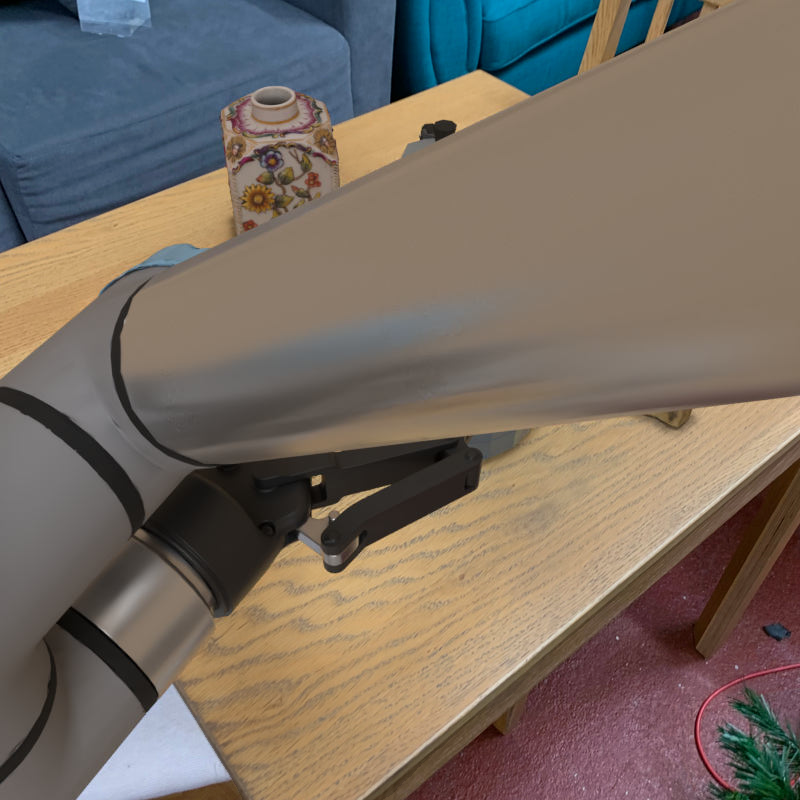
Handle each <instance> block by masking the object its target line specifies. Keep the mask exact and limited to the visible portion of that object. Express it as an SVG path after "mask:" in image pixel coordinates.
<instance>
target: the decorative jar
mask: <svg viewBox="0 0 800 800" xmlns="http://www.w3.org/2000/svg"><path fill="white" fill-rule="evenodd" d="M218 119H219V122H220V128H219V129H220V132H221V141H222V148H223V151H224V161H225V164H224V165H225V168H226V170H227V176H228V177H227V180H228V182H227V184H228V187H229V188H228V189H229V194H230V202H231V204H232V214H233V220H234V228H235V233H236V236H238V235H240V234H242V233H244V232H246V231H248V230H250V229H252V228H255V227H257V226H259V225H261V224H263V223H265V222H267V221H269V220H271V219H274V218H276V217H278V216H280V215H282V214H284V213H286V212H288V211H291V210H293V209H295V208H297V207H299V206H301V205H303V204H305V203H307V202H310V201H312V200H314V199H316V198H318V197H320V196H322V195H324V194H326V193H329V192H331V191H333V190H335V189H337V188H339V187H341V178H340V162H339V161H340V157H339V154H338V146H337V140H336V139H335V137H334V134H333V133H334V128H333V126H332V121H331V115H330V111H329V109H328V108H327V106H326V104H325V102H323V101H320V100H318V99H316V98H313V97H312V96H310V95H307V94H304V93H302V92H298V91H295V90H293V89H291V88H290V87H287V86H282V85H272V86H270V85H269V86H264V87H262V88H258V89H256V90H255V91H254V92H251V93H248V94H246V95H244V96H241V97H240V98H238V99H236V100H234V101H233V102H231V103H230V104H228V105H227V106H225V107H224V108H222V109H221V110H220V114H219V117H218Z"/></svg>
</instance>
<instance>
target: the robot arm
mask: <svg viewBox="0 0 800 800" xmlns="http://www.w3.org/2000/svg"><path fill="white" fill-rule="evenodd" d="M795 397H800V0H733V1H730V2H728V3H726V4H724V5H722V6H720V7H718V8H716V9H714V10H711V11H709V12H707V13H705V14H703V15H700V16H699V17H697V18H694V19H693V20H690V21H688V22H686V23H684V24H682V25H680V26H677V27H675V28H673V29H671V30H669V31H666V32H665V33H663V34H661V35H658V36H656V37H654V38H652V39H650V40H648V41H646V42H644V43H641V44H639V45H638V46H636V47H633V48H631V49H629V50H627V51H625V52H622V53H621V54H618V55H616V56H614V57H612V58H610V59H608V60H606V61H604V62H601V63H599V64H597V65H595V66H592V67H591V68H589V69H586V70H585V71H583V72H580V73H578V74H576V75H574V76H572V77H569V78H568V79H566V80H564V81H561V82H559V83H557V84H555V85H552V86H550V87H548V88H546V89H544V90H542V91H540V92H538V93H536V94H534V95H532V96H529V97H527V98H525V99H523V100H521V101H519V102H517V103H514V104H513V105H511V106H507V108H504V109H502V110H500V111H498V112H496V113H493V114H492V115H489V116H487V117H485V118H483V119H481V120H479V121H477V122H474V123H472V124H471V125H467V126H466V127H464V128H462V129H459V130H457V131H455V133H453V134H451V135H449V136H447V137H445V138H443V139H441V140H439V141H436V142H434V143H432V144H430V145H428V146H426V147H424V148H422V149H419V150H417V151H415V152H413V153H411V154H409V155H407V156H405V157H403V158H401V157H400V158H398V159H396V160H394V161H392V162H390V163H388V164H386V165H383V166H381V167H379V168H377V169H376V170H373V171H371V172H369V173H367V174H364V175H363V176H360V177H359V178H356V179H354V180H352V181H349V182H347V183H346V184H344V185H340V187H339V188H337V189H335V190H333V191H331V192H329V193H326V194H324V195H322V196H320V197H318V198H316V199H314V200H312V201H310V202H307V203H305V204H303V205H301V206H299V207H297V208H295V209H293V210H291V211H288V212H286V213H284V214H282V215H280V216H278V217H276V218H274V219H271V220H269V221H267V222H265V223H263V224H261V225H259V226H257V227H255V228H252V229H250V230H248V231H246V232H244V233H242V234H240V235H238V236H237V235H236V236H234V237H231V238H230V239H227V240H225V241H223V242H221V243H219V244H217V245H214V246H212V247H205V248H204V247H203V248H200V247H197V246H194V245H193V244H192V243H186V242H185V243H175V244H171V245H169V246H165V247H163V248H161V249H159V250H157V251H156V252H154V253H153V254H151V255H150V256H149V257H148V258H146V259H145V260H143V261H142V262H141V263H138V264H136V265H134V266H132V267H130V268H129V269H127V270H125V271H124V272H122V273H121V274H120V275H118V276H117V277H115V278H114V279H112V280H111V281H110V282H109V283H108V284H105V286H104V287H103V288H102V289H101V290H100V291H99V294H98V295H97V297H96V298H94V299H93V300H91V302H90V303H89V304H88V305H86V307H84V308H83V309H82V310H81V311H79V312H78V313H77V314H76V315H74V316H73V317H72V318H71V319H70V320H68V322H66V323H65V324H64V325H62V326H61V328H59V329H58V330H57V331H56V332H55V333H53V334H52V335H51V336H50V337H49V338H47V339H46V340H45V341H44V342H43V343H42V344H40V345H39V346H38V347H37V348H36V349H34V350H33V351H32V352H30V353H29V354H28V355H27V356H26V357H25V358H23V360H21V361H19V363H18V364H17V365H15V366H14V367H12V369H11V370H10V371H8V372H7V373H6V374H5V375H4V376H2V377H1V378H0V800H77V799H78V798H79V797H80V796H81V795H82V793H83V792H84V791H85V790H86V789H87V787H88V786H89V785H90V783H91V782H92V781H93V780H94V778H96V776H97V775H98V774H99V772H100V771H101V770H102V769H103V768H104V766H105V765H106V764H107V763H108V762H109V760H110V759H111V758H112V757H113V755H114V754H115V753H116V752H117V750H118V749H119V748H120V746H121V745H122V744H123V743H124V742H125V741H126V740H127V738H128V737H129V736H130V735H131V733H132V732H133V731H134V730H135V728H136V727H137V726H138V724H139V723H140V722H141V721H142V720H143V719H144V718H145V716H146V715H147V713H148V712H149V711H150V710H151V709H152V708H153V706H155V704H156V703H157V702H158V700H160V699H161V698H162V697H163V696H164V695H165V693H166V692H167V691H168V689H170V687H171V686H172V685H173V684H174V682H175V681H176V680H177V679H178V677H179V676H180V675H181V674H182V673H183V672H184V671H185V669H187V667H188V666H189V664H190V663H191V662H192V661H193V660H194V659H195V657H196V656H197V655H198V654H199V652H200V651H201V650H202V649H203V648H204V646H206V644H207V643H208V642H209V641H210V639H211V638H212V637H213V636H214V635H215V632H216V630H217V629H216V628H217V627H216V619H221V618H227V617H229V616H231V615H232V613H233V612H234V611H235V610H236V609H237V607H238V606H239V605H240V604H241V603H242V602H243V600H244V599H245V598H246V597H247V596H248V594H249V593H250V592H251V591H252V589H253V588H254V587H255V586H256V585H257V584H258V582H259V581H260V580H261V579H262V578H263V577H264V575H265V574H266V573H267V572H268V570H269V569H270V568H271V566H272V564H273V563H274V562H275V560H276V558H277V557H278V556H279V554H280V553H281V552H282V551H283V550H284V549H285V548H287V547H289V546H290V545H292V544H295V543H298V542H299V541H300V542H301V543H303V544H304V545H306V546H307V547H308V548H309V549H311V550H313V552H315V553H316V554H317V555H319V556H320V557H321V558H322V565H323V567H324V570H325V571H327V573H330V574H339V573H342V572H343V571H345V570H346V568H348V566H349V565H350V564H352V562H353V561H354V560H355V559H356V558H357V557H358V556H359V555H361V553H362V552H363V551H364V550H365V549H366V548H367V547H368V546H371V545H373V544H375V543H376V542H379V541H380V540H382V539H384V538H386V537H388V536H390V535H392V534H394V533H396V532H398V531H400V530H402V529H403V528H405V527H407V526H409V525H411V524H413V523H415V522H417V521H419V520H421V519H423V518H425V517H427V516H428V515H431V514H432V513H434V512H436V511H438V510H440V509H442V508H444V507H446V506H448V505H450V504H452V503H455V501H458V500H459V499H461V498H463V497H466V496H468V495H469V494H471V493H473V492H475V491H476V490H477V489H478V488H479V486H480V479H481V473H482V466H483V461H484V460H483V454H482V453H481V451H480V450H478V449H476V448H473V447H468V446H467V444H468V442H469V441H470V440H471V438H472V437H473V436H474V435H478V434H486V433H495V432H503V431H511V430H520V429H528V428H531V429H536V428H544V427H552V426H553V427H554V426H560V425H561V426H562V425H569V424H577V423H585V422H593V421H602V420H610V419H618V418H626V417H635V416H646V415H647V414H653V413H661V412H670V411H678V410H686V409H692V410H693V409H703V408H710V407H718V406H728V405H735V404H744V403H751V402H761V401H769V400H776V399H778V400H779V399H787V398H795ZM318 476H321V481H320V482H319V483H317V484H315V485H313V478H314V477H318ZM383 487H384V488H383ZM379 488H381V489H380V490H377V491H375V492H374V493H371V494H369V495H367V496H365V497H363V498H361V499H360V500H357V501H356V502H354V503H351V505H349V506H348V507H347V508H345V509H344V510H343V511H342V512H341V513H340V511H338V510H330V512H329V513H328V515H326V516H325V517H323V518H313V511H314V510H318V509H323V508H326V507H329V506H334V505H336V504H338V503H340V501H341V500H342V499H343V498H344V497H345V498H346V497H348V496H352V495H356V494H361V493H363V492H368V491H372V490H375V489H379Z"/></svg>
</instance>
